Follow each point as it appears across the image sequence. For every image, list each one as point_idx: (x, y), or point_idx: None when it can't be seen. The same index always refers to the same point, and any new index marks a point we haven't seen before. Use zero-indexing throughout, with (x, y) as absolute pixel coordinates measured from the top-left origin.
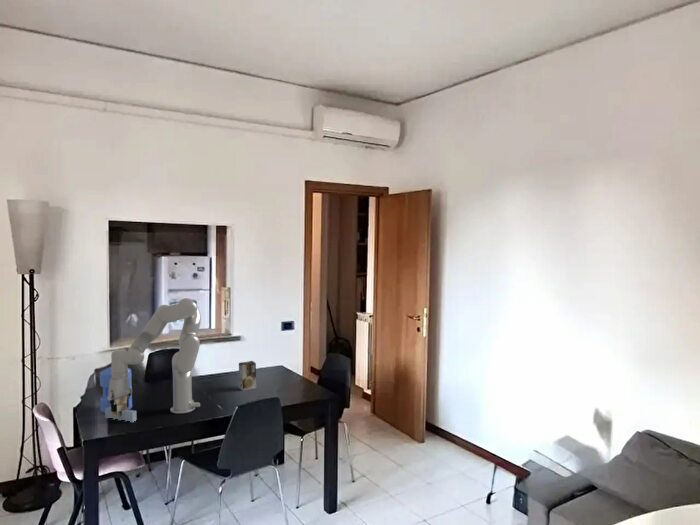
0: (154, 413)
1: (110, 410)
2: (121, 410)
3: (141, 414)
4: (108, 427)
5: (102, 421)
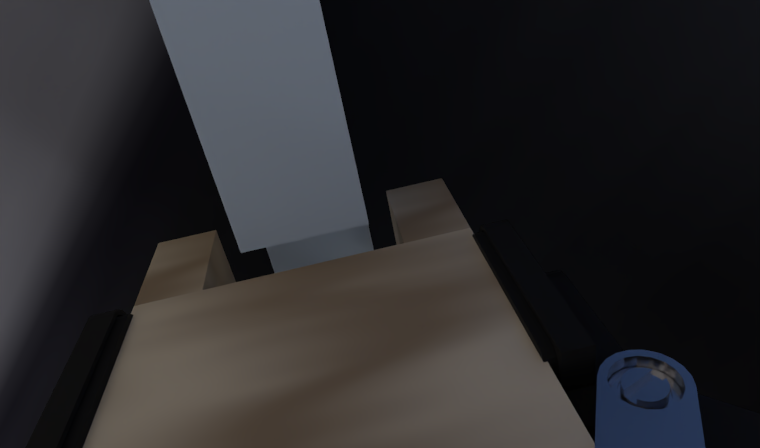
0: (709, 359)
1: (190, 83)
2: (396, 222)
3: (624, 267)
4: (7, 371)
5: (29, 31)
